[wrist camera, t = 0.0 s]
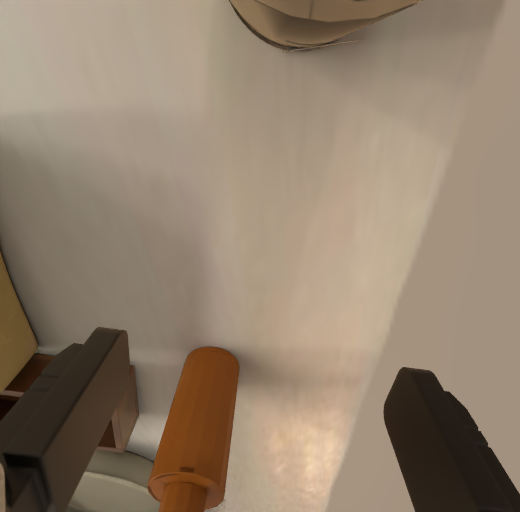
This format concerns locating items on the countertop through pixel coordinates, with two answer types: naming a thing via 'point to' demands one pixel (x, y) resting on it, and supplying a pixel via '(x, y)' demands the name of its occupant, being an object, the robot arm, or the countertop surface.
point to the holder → (118, 425)
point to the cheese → (12, 332)
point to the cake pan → (114, 485)
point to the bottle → (197, 434)
